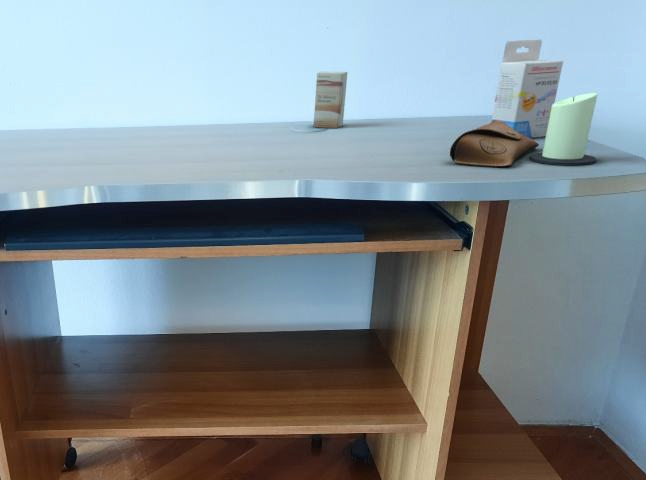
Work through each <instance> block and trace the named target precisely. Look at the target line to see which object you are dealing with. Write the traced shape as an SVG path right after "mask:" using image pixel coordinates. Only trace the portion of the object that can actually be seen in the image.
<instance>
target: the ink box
mask: <svg viewBox="0 0 646 480" xmlns="http://www.w3.org/2000/svg"><path fill="white" fill-rule="evenodd" d="M542 43H543V41H542V39H523V40H507V41H506V42H505V44H504V45H505V46H504V49H503V57H502V61H501V64H500V68H499V75H498V80H497V86H496V92H495V99H494V103H493V110H492V116H491V122H492V121H494V120H500V121H502V122H504V123H506V124H507V125H509V126H510V127H511V128H512V129H513V130H515V131H516V132H518V133H519V134H522V135H524V136H527V137H529V138H531V139H533V138H544V137H546V133H547V128H548V123H549V118H550V113H551V108H552V105H553V104H554V103H556V97H557V92H558V88H559V83H560V79H561V74H562V69H563V65H564V60H548V59H547V60H546V59H545V60H544V59H539V58H540V54H541V48H542V45H543V44H542ZM523 47H524V49H528V50H527V51H525V52H524V51H523V52H522V51H521V52H517V50H518V49H521V48H523Z"/></svg>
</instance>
